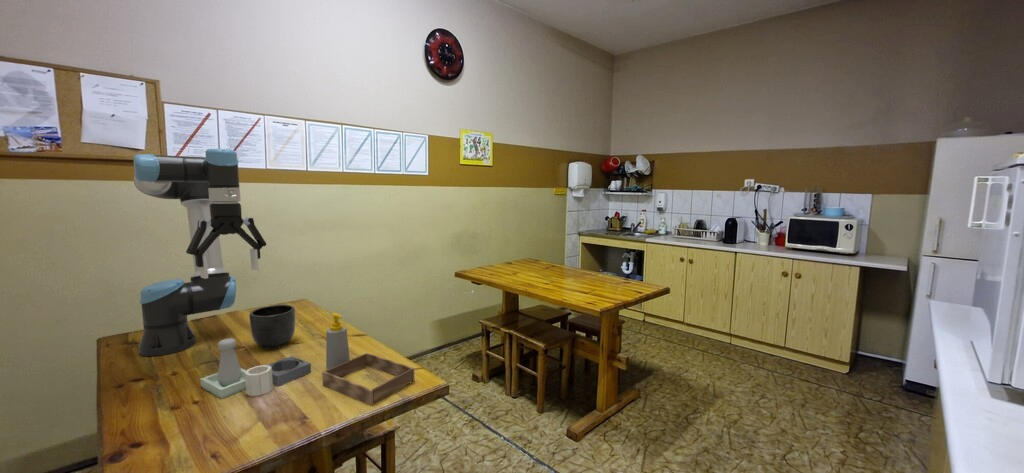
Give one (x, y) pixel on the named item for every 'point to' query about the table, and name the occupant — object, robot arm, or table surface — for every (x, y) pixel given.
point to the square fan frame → (296, 370)
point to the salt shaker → (228, 363)
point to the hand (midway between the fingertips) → (231, 273)
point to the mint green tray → (215, 387)
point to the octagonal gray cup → (258, 380)
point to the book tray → (368, 396)
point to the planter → (272, 325)
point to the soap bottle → (336, 344)
